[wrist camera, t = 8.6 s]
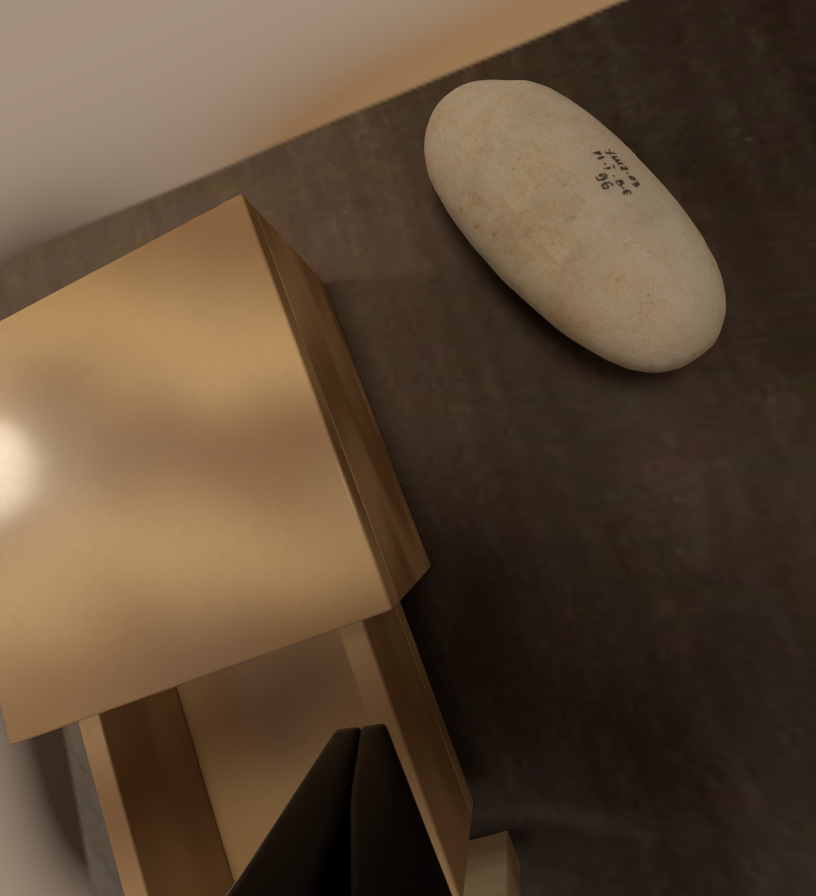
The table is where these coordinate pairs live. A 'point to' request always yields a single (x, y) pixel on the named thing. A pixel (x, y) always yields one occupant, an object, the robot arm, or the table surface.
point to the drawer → (277, 761)
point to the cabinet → (185, 475)
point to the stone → (575, 224)
